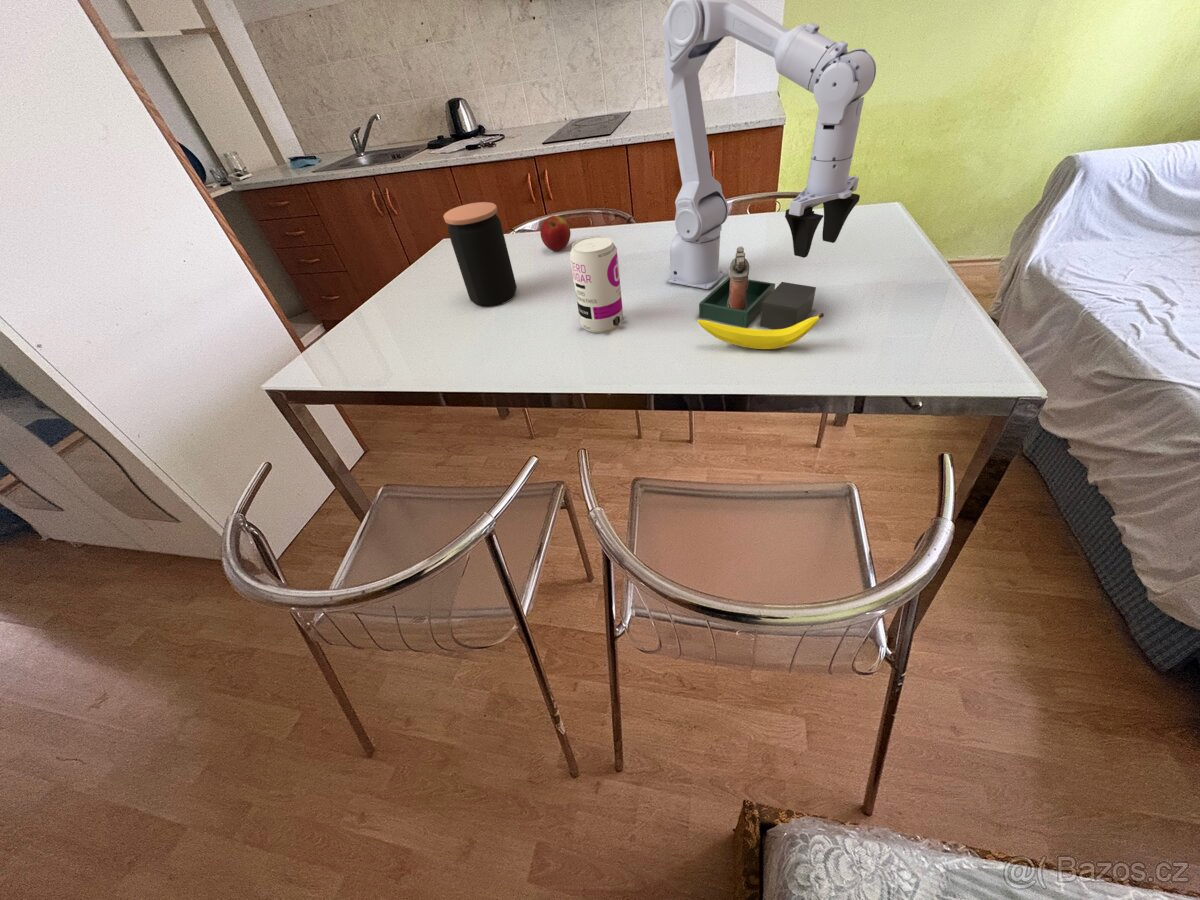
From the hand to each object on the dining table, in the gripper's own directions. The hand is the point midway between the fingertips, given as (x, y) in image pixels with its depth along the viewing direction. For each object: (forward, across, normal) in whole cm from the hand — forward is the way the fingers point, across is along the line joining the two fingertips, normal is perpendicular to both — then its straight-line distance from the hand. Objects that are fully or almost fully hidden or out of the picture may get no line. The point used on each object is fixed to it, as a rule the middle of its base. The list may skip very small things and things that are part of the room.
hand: (815, 248), depth 81 cm
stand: (+10, -6, -1) cm, 12 cm away
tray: (+10, -8, +8) cm, 16 cm away
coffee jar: (+10, -38, +52) cm, 65 cm away
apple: (+10, -13, +64) cm, 66 cm away
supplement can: (+10, -29, +23) cm, 39 cm away
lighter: (+10, -8, +8) cm, 16 cm away
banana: (+10, -17, -3) cm, 20 cm away
